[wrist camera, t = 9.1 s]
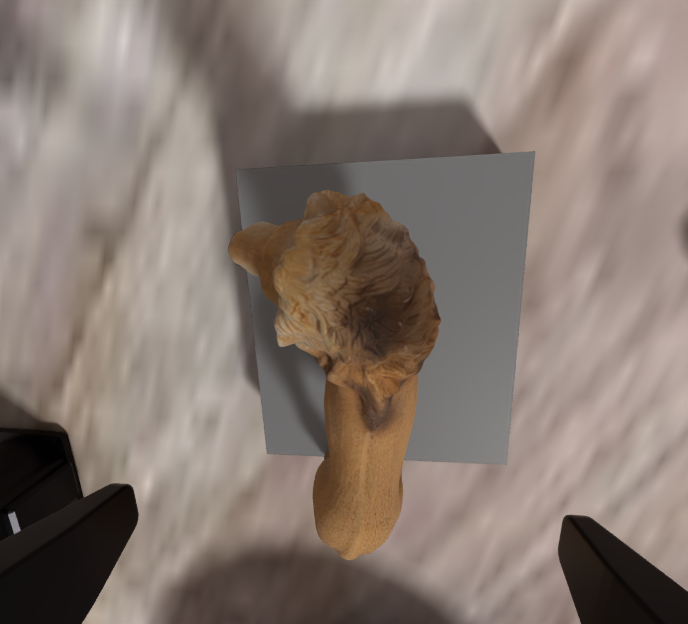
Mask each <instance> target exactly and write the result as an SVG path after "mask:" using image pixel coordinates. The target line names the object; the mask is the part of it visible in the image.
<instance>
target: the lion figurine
mask: <svg viewBox="0 0 688 624" xmlns="http://www.w3.org/2000/svg"><path fill="white" fill-rule="evenodd" d="M228 252H229V255H230V257H231V259H232V260H233V262H234V263H236V264H239V265H241V266H242V267H243V268H244V269H245V270H246V271H248V272H249V273H251V274H253V275H256V276H259V280H260V282H261V288H262V291H263V293H264V294H265V296H266V297H267V298H268V299H269V300H270V301H272V302H273V303H274V304H275V305H276V306H277V307H278V310H277V314H276V317H275V320H274V327H275V330H276V332H277V342H278V345H279V346H280V347H284V346H288V345H291V344H294V343H295V345H296V346H297V347H298V348H299V349H302V350H304V351H306V352H307V353H309V354H311V356H313V357H314V358H315V360H316V361H317V363H318V364H319V365H320V366H321V367H322V369H323V370H324V372H325V374H326V377H327V378H326V383H325V393H324V415H325V426H326V434H327V441H328V448H329V450H328V451H327V452H326V453H325V456H324V461H323V462H322V463H321V465H320V466H319V468H318V470H317V472H316V476H315V480H314V486H313V505H314V516H315V524H316V529H317V532H318V535H319V537H320V539H321V540H322V541H323V542H324V543H325V544H326V545H328V546H330V547H332V548H334V549H336V550H337V552H338V553H339V555H340V556H341V557H342V558H344V559H347V560H352V559H355V558H357V557H358V556H359V555H361V554H368V553H371V552H373V551H375V550H376V549H377V548H378V547H380V546H381V545H382V544H383V543H384V542H385V541H386V540H387V539H388V537H389V535H390V533H391V531H392V529H393V527H394V525H395V523H396V521H397V519H398V517H399V515H400V512H401V507H402V500H403V484H402V465H403V461H404V457H405V453H406V449H407V445H408V441H409V437H410V433H411V430H412V426H413V422H414V417H415V412H416V404H417V394H418V373H419V372H420V370H421V369H422V366H423V363H424V361H425V359H426V358H427V357H428V356H429V355H430V353H431V351H432V349H433V348H434V346H435V343H436V339H437V337H438V333H439V327H438V326H439V325H440V323H441V318H440V316H439V312H438V308H437V305H436V303H435V300H434V295H433V293H434V291H435V284H434V281H433V280H432V279H431V278H430V276H429V273H428V271H427V267H426V262H425V260H424V259H423V258H421V257H419V250H418V248H417V246H416V245H415V244H414V242H413V241H411V239H410V236H409V230H408V229H407V227H406V226H404V225H402V224H401V223H399V222H397V221H393V220H392V218H391V217H390V215H389V214H388V213H387V212H386V211H385V210H384V209H383V207H382V206H381V204H380V203H378V202H375V201H372V200H371V199H370V198H368V197H367V196H366V194H365V193H360V194H358V195H355V196H353V197H350V196H345V195H342V194H341V193H339V192H334V191H330V190H324V191H321V193H319V192H316V193H313V194H312V195H311V196H310V197H309V198H308V200H307V204H306V209H305V212H304V217H303V218H301V219H299V220H294V221H288V222H285V223H283V224H282V225H280V226H278V225H274V224H271V223H268V222H257V223H254V224H252V225H250V226H248V227H247V228H246V229H244V230H241V231H238V232H237V233H236V234H235V235H234V236H233V238H232V239H231V241H230V244H229V248H228Z"/></svg>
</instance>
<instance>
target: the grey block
mask: <svg viewBox="0 0 688 624" xmlns="http://www.w3.org/2000/svg"><path fill="white" fill-rule="evenodd" d="M534 159H535V151H532V152H516V153H499V154H483V155H466V156H450V157H433V158H417V159H400V160H384V161H367V162H351V163H334V164H318V165H301V166H285V167H268V168H252V169H235V171H236V180H237V189H238V198H239V207H240V216H241V225H242V230H244V229H246V228H247V227H248V226H250V225H252V224H254V223H257V222H268V223H271V224H274V225H278V226H280V225H282V224H283V223H285V222H288V221H294V220H299V219H301V218H303V217H304V212H305V209H306V204H307V200H308V198H309V197H310V196H311V195H312V194H313V193H316V192H319V193H321V191H324V190H330V191H334V192H339V193H341V194H342V195H345V196H350V197H353V196H355V195H358V194H360V193H365V194H366V196H367V197H368V198H370V199H371V200H372V201H375V202H378V203H380V204H381V206H382V207H383V209H384V210H385V211H386V212H387V213H388V214H389V215H390V217H391V218H392V220H393V221H397V222H399V223H401V224H402V225H404V226H406V227H407V229H408V230H409V236H410V239H411V241H413V242H414V244H415V245H416V246H417V248H418V250H419V257H421V258H423V259H424V260H425V262H426V267H427V271H428V273H429V276H430V278H431V279H432V280H433V281H434V284H435V291H434V293H433V295H434V300H435V303H436V305H437V308H438V312H439V316H440V318H441V323H440V325H439V326H438V327H439V333H438V337H437V339H436V343H435V346H434V348H433V349H432V351H431V353H430V355H429V356H428V357H427V358H426V359H425V361H424V363H423V366H422V369H421V370H420V372H419V373H418V394H417V404H416V412H415V417H414V422H413V426H412V430H411V433H410V437H409V441H408V445H407V449H406V453H405V457H404V460H411V461H433V462H455V463H477V464H499V465H507V456H508V445H509V434H510V423H511V412H512V401H513V390H514V379H515V368H516V357H517V346H518V335H519V324H520V313H521V302H522V291H523V280H524V269H525V258H526V247H527V236H528V225H529V214H530V203H531V192H532V181H533V170H534ZM247 279H248V288H249V297H250V306H251V315H252V324H253V332H254V341H255V350H256V359H257V368H258V377H259V386H260V395H261V404H262V413H263V422H264V431H265V440H266V449H267V454H279V455H301V456H323V457H324V456H325V453H326V452H327V451H328V450H329V448H328V441H327V434H326V426H325V415H324V393H325V383H326V378H327V377H326V374H325V372H324V370H323V369H322V367H321V366H320V365H319V364H318V363H317V361H316V360H315V358H314V357H313V356H311V354H309V353H307V352H306V351H304V350H302V349H299V348H298V347H297V346H296V345H295V343H294V344H291V345H288V346H284V347H280V346H279V345H278V342H277V332H276V330H275V327H274V320H275V317H276V314H277V310H278V307H277V306H276V305H275V304H274V303H273V302H272V301H270V300H269V299H268V298H267V297H266V296H265V294H264V293H263V291H262V288H261V282H260V280H259V276H256V275H253V274H251V273H249V272H248V271H247Z"/></svg>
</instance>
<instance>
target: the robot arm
mask: <svg viewBox="0 0 688 624" xmlns="http://www.w3.org/2000/svg"><path fill="white" fill-rule="evenodd" d="M138 516H139V514H138V508H137V504H136V499H135V494H134V490H133V487H132V486H131V485H129V484H119V483H113V484H110V485H107V486H106V487H104V488H102V489H100V490H98V491H96V492H94V493H92V494H90V495H88V496H86V497H84V498H83V497H82V493H81V489H80V485H79V481H78V477H77V473H76V469H75V465H74V461H73V458H72V454H71V450H70V446H69V442H68V438H67V436H66V435H65V434H63V433H61V432H51V431H35V430H18V429H2V428H0V624H82V622H83V621H84V619H85V618H86V616H87V614H88V613H89V611H90V609H91V608H92V606H93V605H94V603H95V601H96V599H97V597H98V596H99V594H100V592H101V590H102V589H103V587H104V585H105V583H106V581H107V579H108V577H109V576H110V574H111V572H112V570H113V568H114V566H115V564H116V563H117V561H118V559H119V557H120V555H121V553H122V552H123V550H124V548H125V546H126V544H127V542H128V540H129V539H130V537H131V535H132V533H133V531H134V529H135V527H136V525H137V522H138ZM558 555H559V560H560V563H561V566H562V569H563V572H564V575H565V578H566V581H567V584H568V587H569V590H570V593H571V596H572V599H573V601H574V604H575V607H576V610H577V613H578V616H579V619H580V622H581V624H688V591H686V590H685V589H684V588H682V587H681V586H680V585H679V584H677V583H676V582H675V581H673V580H672V579H671V578H669V577H668V576H667V575H665V574H664V573H663V572H661V571H660V570H659V569H658V568H656V567H655V566H654V565H652V564H651V563H650V562H648V561H647V560H646V559H644V558H643V557H642V556H640V555H639V554H638V553H637V552H635V551H634V550H633V549H631V548H630V547H629V546H627V545H626V544H625V543H623V542H622V541H621V540H620V539H618V538H617V537H616V536H614V535H613V534H612V533H610V532H609V531H608V530H606V529H605V528H604V527H602V526H601V525H600V524H599V523H597V522H596V521H595V520H593V519H592V518H590V517H588V516H581V515H566V516H565V517H564V518H563V522H562V528H561V533H560V539H559V545H558Z"/></svg>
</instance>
